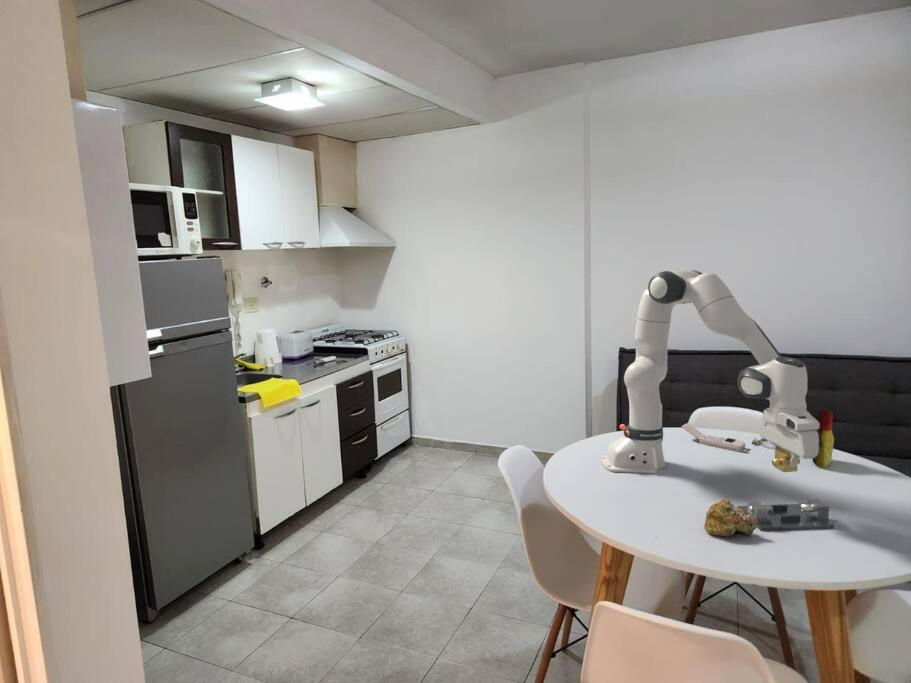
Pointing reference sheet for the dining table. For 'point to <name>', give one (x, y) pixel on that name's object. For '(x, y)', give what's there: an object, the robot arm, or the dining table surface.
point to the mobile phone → (715, 440)
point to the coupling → (783, 460)
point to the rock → (728, 519)
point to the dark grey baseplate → (789, 515)
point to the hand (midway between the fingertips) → (785, 462)
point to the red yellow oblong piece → (824, 438)
